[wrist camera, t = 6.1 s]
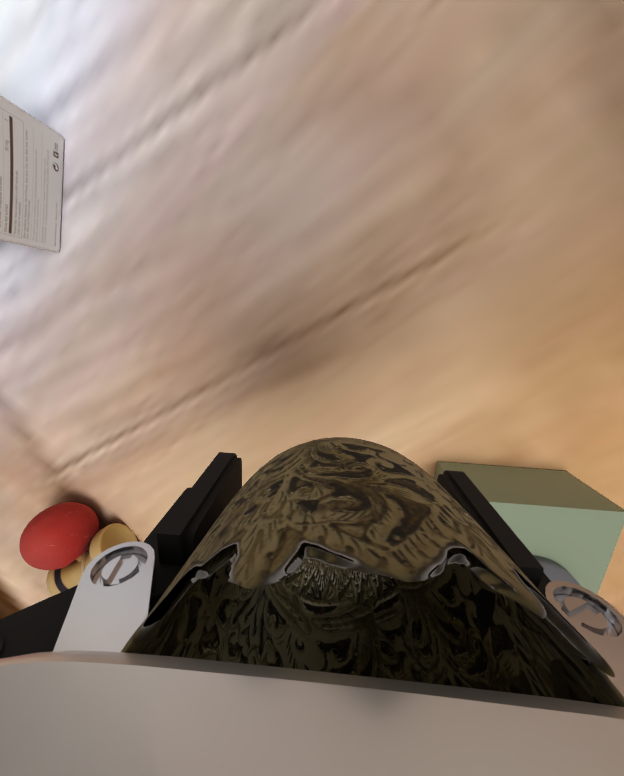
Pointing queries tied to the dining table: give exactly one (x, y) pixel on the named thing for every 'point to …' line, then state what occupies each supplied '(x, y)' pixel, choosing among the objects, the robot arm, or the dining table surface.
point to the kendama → (68, 542)
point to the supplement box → (29, 179)
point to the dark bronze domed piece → (363, 583)
